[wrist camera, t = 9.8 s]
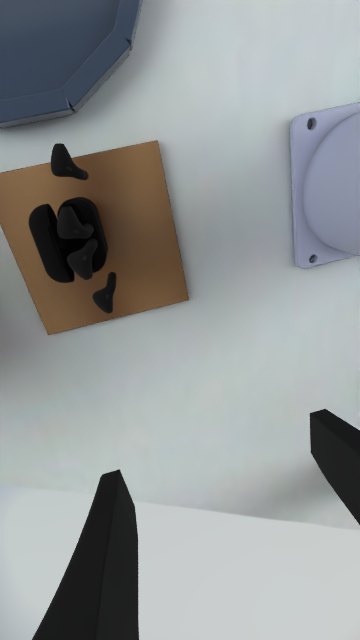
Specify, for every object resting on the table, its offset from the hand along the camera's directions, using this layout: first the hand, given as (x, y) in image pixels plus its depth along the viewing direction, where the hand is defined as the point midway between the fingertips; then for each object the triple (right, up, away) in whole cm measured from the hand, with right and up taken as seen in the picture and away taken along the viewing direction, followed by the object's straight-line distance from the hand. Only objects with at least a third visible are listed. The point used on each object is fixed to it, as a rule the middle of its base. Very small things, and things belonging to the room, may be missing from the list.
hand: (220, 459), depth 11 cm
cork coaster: (-6, +9, +5) cm, 12 cm away
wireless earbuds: (-7, +10, +5) cm, 13 cm away
